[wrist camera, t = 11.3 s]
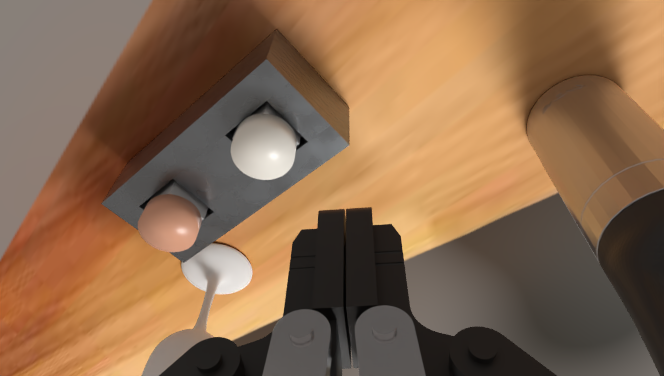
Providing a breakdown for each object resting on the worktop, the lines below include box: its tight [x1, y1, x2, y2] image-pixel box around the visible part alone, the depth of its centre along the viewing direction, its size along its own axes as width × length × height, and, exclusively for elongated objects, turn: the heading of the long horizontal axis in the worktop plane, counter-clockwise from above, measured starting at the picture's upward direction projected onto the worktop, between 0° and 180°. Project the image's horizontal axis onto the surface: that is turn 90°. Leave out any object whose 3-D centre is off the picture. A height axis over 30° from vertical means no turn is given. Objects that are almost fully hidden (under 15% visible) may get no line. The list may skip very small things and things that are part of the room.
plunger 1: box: [138, 179, 208, 252], centre depth 48 cm, size 5×5×7 cm
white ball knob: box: [231, 101, 301, 180], centre depth 44 cm, size 5×5×7 cm
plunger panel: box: [101, 29, 349, 263], centre depth 48 cm, size 10×22×7 cm, turn 131°
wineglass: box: [142, 243, 252, 376], centre depth 53 cm, size 9×9×21 cm
